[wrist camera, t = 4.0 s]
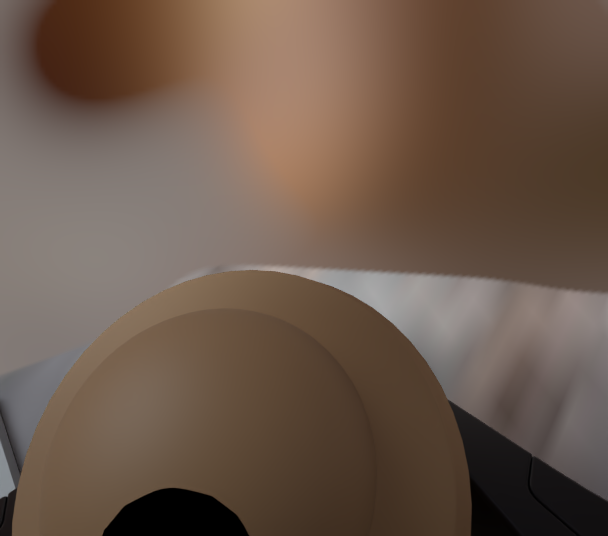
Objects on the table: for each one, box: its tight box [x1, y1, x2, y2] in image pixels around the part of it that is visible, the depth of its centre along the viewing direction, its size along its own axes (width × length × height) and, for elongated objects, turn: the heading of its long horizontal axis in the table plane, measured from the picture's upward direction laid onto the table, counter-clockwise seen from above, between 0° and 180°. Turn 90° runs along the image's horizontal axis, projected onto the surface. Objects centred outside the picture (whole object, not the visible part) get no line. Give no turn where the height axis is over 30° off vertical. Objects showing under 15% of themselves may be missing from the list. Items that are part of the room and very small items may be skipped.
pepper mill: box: [12, 270, 472, 536], centre depth 8 cm, size 5×5×14 cm
